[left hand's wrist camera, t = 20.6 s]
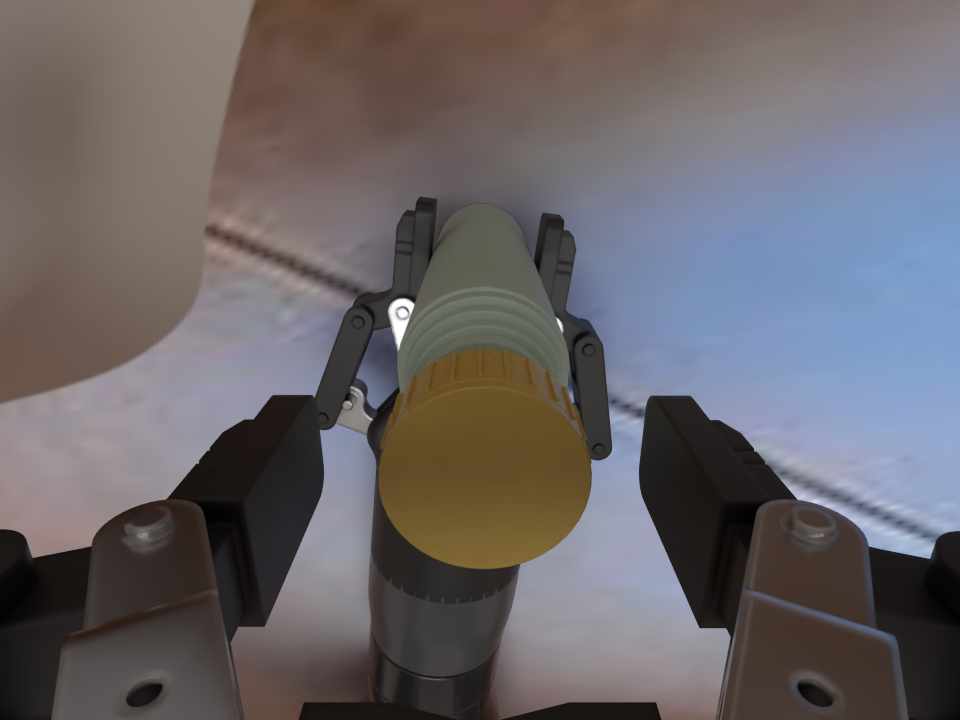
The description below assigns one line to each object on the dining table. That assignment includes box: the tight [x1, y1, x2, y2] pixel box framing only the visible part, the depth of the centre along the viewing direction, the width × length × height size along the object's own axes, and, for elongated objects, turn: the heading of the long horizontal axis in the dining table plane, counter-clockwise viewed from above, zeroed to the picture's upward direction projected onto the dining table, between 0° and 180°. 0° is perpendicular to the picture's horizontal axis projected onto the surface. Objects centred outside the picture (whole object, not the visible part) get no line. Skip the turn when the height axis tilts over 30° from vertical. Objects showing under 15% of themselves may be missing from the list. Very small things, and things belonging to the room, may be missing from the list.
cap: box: [378, 347, 592, 569], centre depth 11 cm, size 4×4×2 cm
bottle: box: [397, 204, 569, 394], centre depth 21 cm, size 4×4×21 cm
